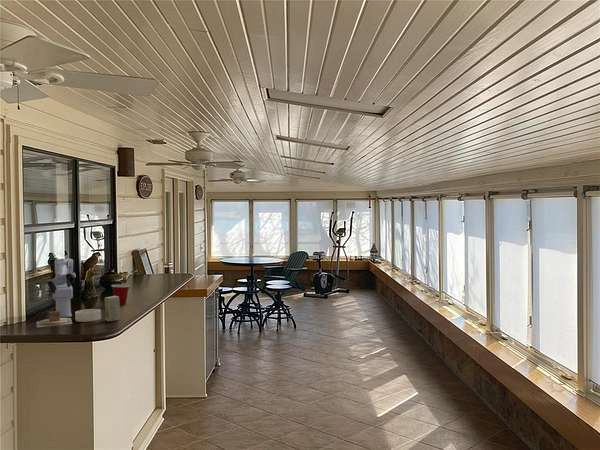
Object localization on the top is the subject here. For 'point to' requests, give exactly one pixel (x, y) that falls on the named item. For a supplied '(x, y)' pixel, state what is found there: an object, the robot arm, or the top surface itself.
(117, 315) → the skincare box
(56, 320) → the lid
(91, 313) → the bowl
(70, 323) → the mat
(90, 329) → the top surface
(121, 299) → the plastic cup
